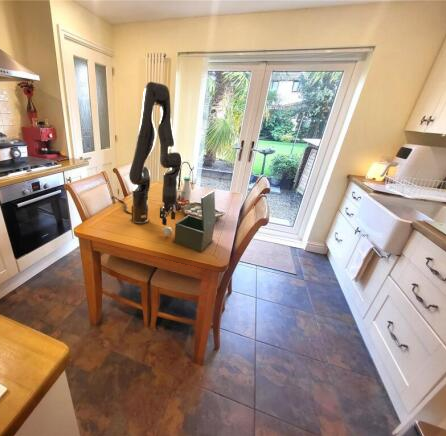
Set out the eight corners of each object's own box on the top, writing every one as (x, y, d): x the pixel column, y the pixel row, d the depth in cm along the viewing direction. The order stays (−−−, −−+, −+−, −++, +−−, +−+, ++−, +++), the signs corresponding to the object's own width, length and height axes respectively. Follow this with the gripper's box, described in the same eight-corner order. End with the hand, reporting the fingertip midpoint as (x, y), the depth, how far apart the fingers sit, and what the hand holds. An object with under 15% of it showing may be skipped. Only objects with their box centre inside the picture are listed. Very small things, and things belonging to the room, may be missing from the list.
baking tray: (172, 213, 157) (173, 205, 155) (192, 205, 172) (192, 198, 169) (210, 228, 139) (212, 220, 137) (228, 217, 154) (230, 210, 151)
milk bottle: (189, 202, 176) (191, 176, 168) (190, 206, 169) (193, 179, 161) (179, 202, 176) (181, 176, 168) (180, 206, 169) (182, 179, 161)
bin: (174, 241, 123) (175, 223, 119) (186, 232, 134) (188, 214, 129) (200, 251, 116) (203, 232, 111) (212, 240, 126) (214, 222, 121)
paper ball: (160, 236, 128) (160, 227, 125) (166, 232, 132) (166, 224, 130) (168, 239, 125) (169, 230, 123) (174, 235, 129) (174, 227, 127)
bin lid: (200, 198, 105) (202, 198, 105) (212, 190, 116) (214, 190, 115) (202, 231, 111) (204, 232, 110) (214, 221, 121) (215, 222, 121)
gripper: (171, 188, 125) (169, 215, 132) (155, 195, 114) (155, 224, 121) (183, 191, 122) (181, 219, 128) (168, 198, 111) (167, 228, 118)
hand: (168, 222), depth 125 cm, fingers open, 8 cm apart
